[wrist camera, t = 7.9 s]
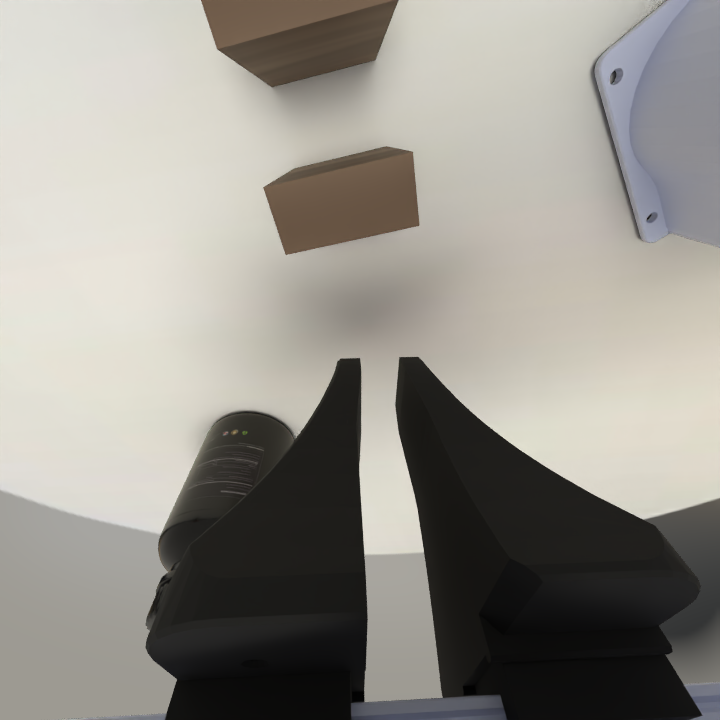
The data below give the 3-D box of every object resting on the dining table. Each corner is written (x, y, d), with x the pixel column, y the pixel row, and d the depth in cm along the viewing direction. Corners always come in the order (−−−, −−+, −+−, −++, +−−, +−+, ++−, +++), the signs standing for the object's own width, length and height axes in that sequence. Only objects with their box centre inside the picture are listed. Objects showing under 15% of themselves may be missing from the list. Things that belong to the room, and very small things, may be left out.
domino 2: (392, 193, 16) (419, 225, 10) (306, 213, 16) (285, 254, 11) (386, 146, 15) (412, 151, 9) (294, 168, 15) (263, 187, 9)
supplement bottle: (303, 464, 28) (280, 647, 18) (223, 470, 28) (156, 655, 18) (288, 405, 24) (249, 597, 14) (196, 411, 24) (89, 608, 14)
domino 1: (375, 59, 13) (398, -1, 7) (271, 87, 13) (217, 49, 8) (366, -12, 12) (385, -150, 6) (253, 20, 12) (174, -83, 7)
